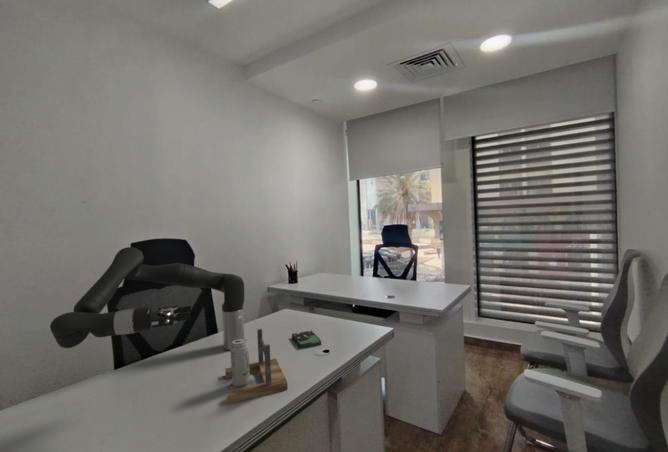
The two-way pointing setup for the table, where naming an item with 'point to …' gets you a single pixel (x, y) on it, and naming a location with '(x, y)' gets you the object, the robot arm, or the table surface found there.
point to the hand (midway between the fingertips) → (190, 312)
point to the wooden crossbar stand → (269, 375)
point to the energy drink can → (240, 363)
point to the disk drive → (306, 339)
